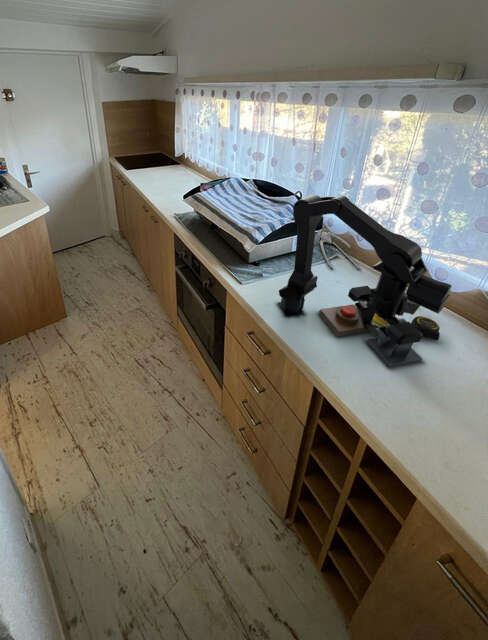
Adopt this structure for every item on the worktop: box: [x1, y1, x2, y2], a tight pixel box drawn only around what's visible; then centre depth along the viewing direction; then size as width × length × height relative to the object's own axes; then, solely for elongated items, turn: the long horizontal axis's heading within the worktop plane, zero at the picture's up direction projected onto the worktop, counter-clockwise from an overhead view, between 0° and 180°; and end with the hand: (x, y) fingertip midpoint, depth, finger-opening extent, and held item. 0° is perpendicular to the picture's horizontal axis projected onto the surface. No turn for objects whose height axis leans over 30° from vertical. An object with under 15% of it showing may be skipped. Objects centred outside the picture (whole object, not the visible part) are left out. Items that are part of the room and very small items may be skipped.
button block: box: [318, 303, 375, 337], centre depth 96 cm, size 12×10×4 cm
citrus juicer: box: [319, 231, 361, 270], centre depth 135 cm, size 11×10×30 cm
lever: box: [366, 322, 379, 338], centre depth 81 cm, size 11×5×2 cm, turn 101°
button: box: [341, 305, 355, 318], centre depth 95 cm, size 4×4×2 cm
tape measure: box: [410, 315, 441, 342], centre depth 92 cm, size 7×7×4 cm
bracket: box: [365, 318, 423, 368], centre depth 84 cm, size 10×9×10 cm
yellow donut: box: [371, 313, 400, 328], centre depth 92 cm, size 10×11×4 cm
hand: (372, 336), depth 81 cm, fingers closed on lever, 5 cm apart
